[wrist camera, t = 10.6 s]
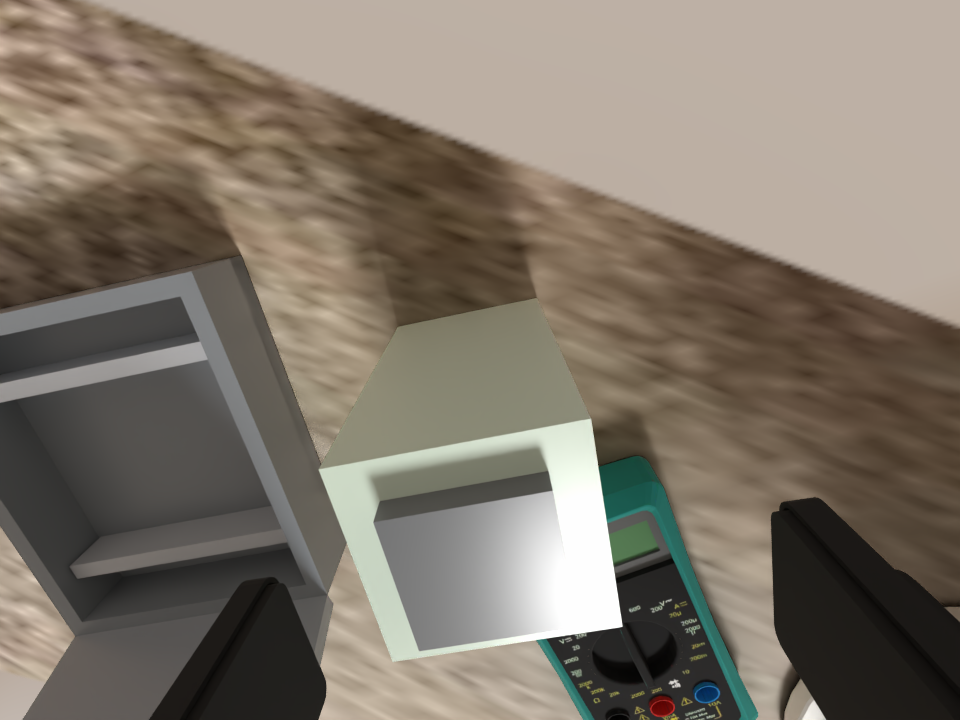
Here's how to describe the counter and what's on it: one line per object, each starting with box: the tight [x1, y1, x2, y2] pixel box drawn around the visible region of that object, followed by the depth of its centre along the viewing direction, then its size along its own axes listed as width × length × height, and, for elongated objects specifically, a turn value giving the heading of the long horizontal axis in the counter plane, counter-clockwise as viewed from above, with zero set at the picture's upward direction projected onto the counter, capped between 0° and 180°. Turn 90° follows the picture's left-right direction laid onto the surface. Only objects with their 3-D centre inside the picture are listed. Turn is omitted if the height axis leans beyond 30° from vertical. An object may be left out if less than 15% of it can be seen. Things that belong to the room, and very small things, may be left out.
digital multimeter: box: [537, 456, 758, 720], centre depth 21 cm, size 7×15×3 cm, turn 26°
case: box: [0, 255, 347, 636], centre depth 18 cm, size 10×12×3 cm
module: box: [319, 298, 622, 662], centre depth 14 cm, size 5×5×10 cm
